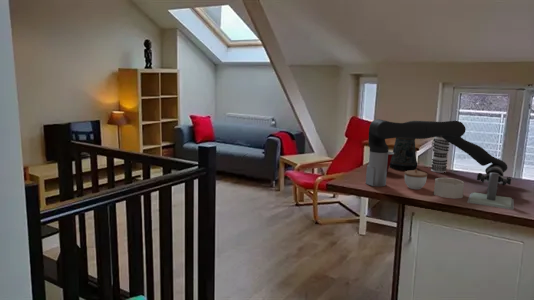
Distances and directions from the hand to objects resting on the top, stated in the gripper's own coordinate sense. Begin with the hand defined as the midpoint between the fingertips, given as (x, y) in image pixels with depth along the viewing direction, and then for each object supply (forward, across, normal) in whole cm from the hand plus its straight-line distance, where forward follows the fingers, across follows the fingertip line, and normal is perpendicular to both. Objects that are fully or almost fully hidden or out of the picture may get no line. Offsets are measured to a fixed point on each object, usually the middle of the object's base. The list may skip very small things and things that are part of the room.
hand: (493, 181), depth 198 cm
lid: (+8, 0, +7) cm, 10 cm away
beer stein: (-43, -51, +8) cm, 67 cm away
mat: (+8, 0, +8) cm, 11 cm away
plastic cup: (-25, -57, +8) cm, 63 cm away
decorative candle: (-45, -30, +8) cm, 55 cm away
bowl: (+8, -18, +8) cm, 21 cm away
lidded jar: (+2, -34, +8) cm, 35 cm away
